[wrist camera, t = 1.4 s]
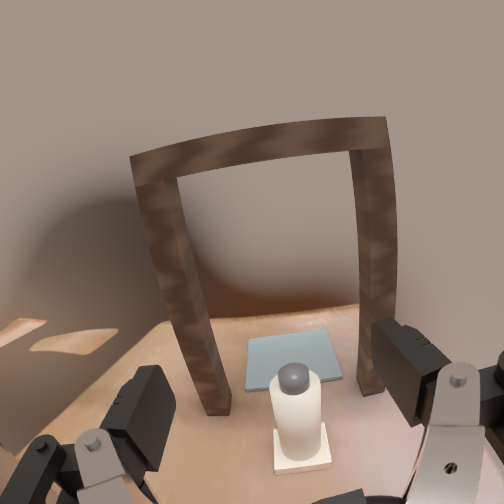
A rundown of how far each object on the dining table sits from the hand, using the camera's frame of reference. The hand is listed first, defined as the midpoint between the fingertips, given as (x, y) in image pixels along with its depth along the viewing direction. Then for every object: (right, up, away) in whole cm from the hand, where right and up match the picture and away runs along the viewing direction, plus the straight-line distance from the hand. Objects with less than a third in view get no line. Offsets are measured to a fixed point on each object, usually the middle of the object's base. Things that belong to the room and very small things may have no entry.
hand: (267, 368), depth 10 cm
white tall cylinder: (+5, -18, +16) cm, 25 cm away
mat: (+6, -13, +33) cm, 36 cm away
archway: (+5, -16, +24) cm, 29 cm away
